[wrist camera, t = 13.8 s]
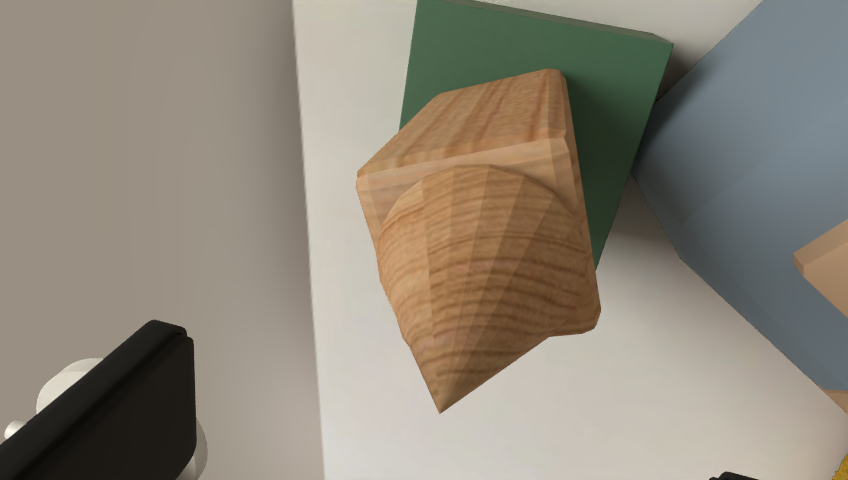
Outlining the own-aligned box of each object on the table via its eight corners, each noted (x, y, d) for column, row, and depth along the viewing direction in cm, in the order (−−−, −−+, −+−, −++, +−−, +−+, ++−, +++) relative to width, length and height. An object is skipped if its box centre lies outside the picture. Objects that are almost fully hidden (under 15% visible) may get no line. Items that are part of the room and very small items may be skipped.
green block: (409, 187, 37) (386, 222, 32) (440, -6, 32) (417, -4, 26) (589, 228, 35) (595, 271, 30) (652, 33, 30) (674, 44, 25)
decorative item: (583, 193, 28) (636, 538, 11) (459, 213, 30) (330, 535, 13) (563, 62, 26) (589, 230, 8) (430, 93, 28) (220, 284, 10)
